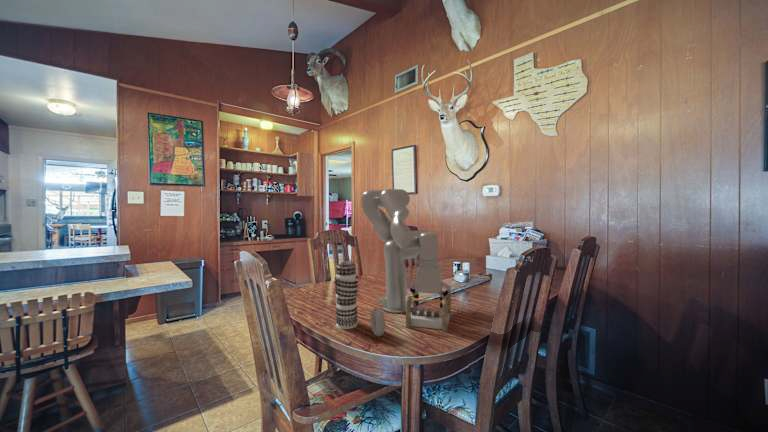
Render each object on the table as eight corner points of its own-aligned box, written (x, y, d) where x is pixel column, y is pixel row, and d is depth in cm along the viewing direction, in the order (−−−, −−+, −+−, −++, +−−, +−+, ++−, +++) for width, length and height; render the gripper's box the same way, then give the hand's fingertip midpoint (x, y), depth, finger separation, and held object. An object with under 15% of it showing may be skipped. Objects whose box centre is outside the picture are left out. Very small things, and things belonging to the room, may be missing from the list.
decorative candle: (342, 319, 127) (341, 259, 126) (362, 322, 124) (361, 260, 123) (330, 327, 119) (329, 263, 118) (351, 330, 115) (350, 265, 114)
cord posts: (405, 327, 118) (405, 297, 117) (413, 314, 132) (413, 287, 132) (447, 332, 113) (447, 300, 113) (451, 318, 127) (451, 289, 127)
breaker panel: (408, 325, 120) (408, 313, 120) (413, 316, 130) (413, 305, 129) (446, 329, 116) (446, 317, 115) (449, 320, 125) (449, 308, 125)
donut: (386, 340, 107) (386, 312, 107) (377, 341, 106) (377, 313, 105) (378, 329, 116) (377, 303, 116) (369, 330, 115) (369, 304, 115)
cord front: (409, 300, 117) (409, 298, 117) (409, 300, 118) (409, 297, 118) (443, 303, 114) (443, 301, 114) (443, 303, 115) (443, 300, 114)
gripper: (405, 264, 121) (405, 307, 121) (450, 266, 116) (450, 311, 116) (409, 260, 128) (410, 301, 128) (451, 262, 123) (452, 304, 123)
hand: (429, 305), depth 122 cm, fingers open, 9 cm apart
